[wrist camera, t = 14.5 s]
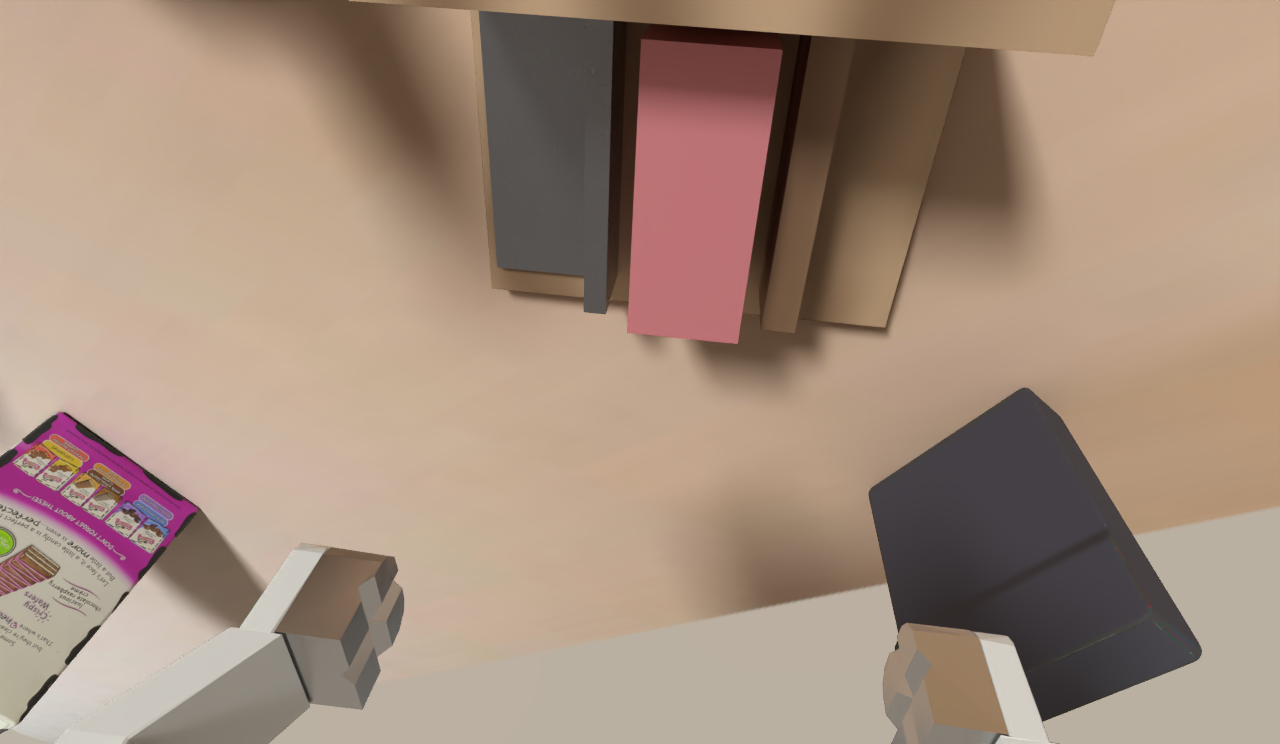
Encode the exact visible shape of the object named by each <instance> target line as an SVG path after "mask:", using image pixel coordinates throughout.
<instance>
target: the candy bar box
mask: <svg viewBox="0 0 1280 744" xmlns="http://www.w3.org/2000/svg"><path fill="white" fill-rule="evenodd" d="M197 512H198V508H197V507H196V506H195V505H193V504H192V503H190V502H189V501H188V500H186V499H185V498H183V497H182V496H181V495H179V494H178V493H176V492H175V491H174V490H172V489H171V488H169V487H168V486H167V485H165V484H164V483H162V482H161V481H159V480H158V479H157V478H155V477H154V476H152V475H151V474H149V473H148V472H146V471H145V470H144V469H142V468H141V467H139V466H138V465H137V464H135V463H134V462H132V461H131V460H129V459H128V458H127V457H125V456H124V455H122V454H121V453H119V452H118V451H117V450H115V449H114V448H112V447H111V446H110V445H108V444H107V443H105V442H104V441H102V440H101V439H99V438H98V437H96V436H95V435H94V434H92V433H91V432H89V431H88V430H86V429H85V428H84V427H82V426H81V425H79V424H78V423H76V422H75V421H74V420H72V419H71V418H69V417H68V416H67V415H65V414H63V413H61V412H57V413H55V414H54V415H53V416H51V417H50V418H49V419H48V420H46V421H45V422H44V423H42V424H41V425H40V426H38V427H37V428H36V429H35V430H33V431H32V432H31V433H30V434H28V435H27V436H26V437H25V438H23V439H22V440H21V441H20V442H18V443H17V444H16V445H14V446H13V447H12V448H11V449H9V450H8V451H7V452H6V453H5V454H3V455H2V456H1V457H0V734H1V733H2V732H5V731H7V730H8V729H10V728H12V727H14V726H16V725H17V724H19V723H20V722H21V721H22V720H23V719H24V717H25V716H26V715H27V714H28V713H29V711H30V710H31V709H32V708H33V706H34V705H35V704H36V703H37V702H38V701H39V700H40V699H41V697H42V696H43V695H44V694H45V693H46V692H47V690H48V689H49V688H50V687H51V685H52V684H53V683H54V682H55V681H56V679H57V678H58V677H59V676H60V674H61V673H62V672H63V671H64V670H65V668H66V667H67V666H68V665H69V664H70V662H71V661H72V660H73V659H74V658H75V657H76V655H77V654H78V653H79V652H80V651H81V649H82V648H83V647H84V646H85V645H86V643H87V642H88V641H89V640H90V639H91V638H92V637H93V635H94V634H95V633H96V632H97V630H98V629H99V628H100V627H101V625H102V624H103V623H104V622H105V621H106V620H107V618H108V617H109V616H110V615H111V614H112V613H113V612H114V610H115V609H116V608H117V607H118V606H119V604H120V603H121V602H122V601H123V600H124V599H125V597H126V596H127V595H128V594H129V593H130V591H131V590H132V589H133V588H134V586H135V585H136V584H137V583H138V582H139V581H140V579H141V578H142V577H143V576H144V575H145V574H146V572H147V571H148V570H149V569H150V568H151V567H152V565H153V564H154V563H155V562H156V561H157V560H158V558H159V557H160V556H161V555H162V554H163V552H164V551H165V550H166V549H167V548H168V546H169V545H170V544H171V543H172V542H173V540H174V539H175V538H176V537H177V536H178V535H179V534H180V533H181V532H182V530H183V529H184V528H185V527H186V526H187V525H188V523H189V522H190V521H191V520H192V518H193V517H194V516H195V515H196V513H197Z"/></svg>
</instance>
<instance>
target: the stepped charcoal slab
mask: <svg viewBox="0 0 1280 744" xmlns="http://www.w3.org/2000/svg"><path fill="white" fill-rule="evenodd" d="M869 500H870V504H871V509H872V514H873V518H874V523H875V528H876V532H877V537H878V541H879V546H880V551H881V555H882V560H883V564H884V569H885V574H886V578H887V583H888V587H889V592H890V597H891V601H892V606H893V610H894V615H895V619H896V624H897V629H898V633H899V631H900V629H901V626H903V625H904V624H906V623H913V624H921V625H930V626H938V627H947V628H956V629H964V630H970V631H971V632H981V633H989V634H998V635H1004V636H1008V637H1009V638H1010V639H1011V641H1012V642H1013V643H1014V646H1015V648H1016V651H1017V654H1018V657H1019V659H1020V662H1021V665H1022V667H1023V670H1024V673H1025V676H1026V678H1027V681H1028V684H1029V687H1030V689H1031V692H1032V695H1033V698H1034V700H1035V703H1036V706H1037V708H1038V711H1039V714H1040V717H1041V719H1042V722H1043V721H1045V720H1048V719H1050V718H1053V717H1056V716H1058V715H1061V714H1063V713H1066V712H1068V711H1071V710H1073V709H1076V708H1079V707H1081V706H1084V705H1086V704H1089V703H1091V702H1094V701H1096V700H1099V699H1101V698H1104V697H1106V696H1109V695H1112V694H1114V693H1117V692H1119V691H1122V690H1124V689H1127V688H1129V687H1132V686H1134V685H1137V684H1139V683H1142V682H1145V681H1147V680H1150V679H1152V678H1155V677H1157V676H1160V675H1162V674H1165V673H1167V672H1170V671H1173V670H1175V669H1178V668H1180V667H1183V666H1185V665H1187V664H1190V663H1193V662H1195V661H1197V660H1198V659H1199V658H1200V656H1201V653H1202V650H1201V647H1200V645H1199V643H1198V641H1197V639H1196V638H1195V636H1194V635H1193V633H1192V631H1191V629H1190V628H1189V626H1188V625H1187V623H1186V621H1185V620H1184V618H1183V616H1182V615H1181V613H1180V611H1179V610H1178V608H1177V607H1176V605H1175V603H1174V602H1173V600H1172V598H1171V597H1170V595H1169V593H1168V592H1167V590H1166V589H1165V587H1164V585H1163V584H1162V582H1161V580H1160V579H1159V577H1158V576H1157V574H1156V572H1155V571H1154V569H1153V567H1152V566H1151V564H1150V562H1149V561H1148V559H1147V558H1146V556H1145V554H1144V553H1143V551H1142V549H1141V548H1140V546H1139V545H1138V543H1137V541H1136V540H1135V538H1134V536H1133V535H1132V533H1131V531H1130V530H1129V528H1128V526H1127V525H1126V523H1125V522H1124V520H1123V518H1122V517H1121V515H1120V513H1119V512H1118V510H1117V508H1116V507H1115V505H1114V504H1113V502H1112V500H1111V499H1110V497H1109V495H1108V494H1107V492H1106V491H1105V489H1104V487H1103V486H1102V484H1101V482H1100V481H1099V479H1098V477H1097V476H1096V474H1095V473H1094V471H1093V469H1092V468H1091V466H1090V464H1089V463H1088V461H1087V459H1086V458H1085V456H1084V455H1083V453H1082V451H1081V450H1080V448H1079V446H1078V445H1077V443H1076V441H1075V440H1074V438H1073V437H1072V435H1071V433H1070V432H1069V430H1068V428H1067V427H1066V425H1065V423H1064V422H1063V420H1062V419H1061V417H1060V416H1059V415H1058V414H1057V413H1055V412H1054V411H1053V410H1052V409H1051V408H1050V407H1049V406H1048V405H1047V404H1045V403H1044V402H1043V401H1042V400H1041V399H1040V398H1039V397H1038V396H1037V395H1035V394H1034V393H1033V392H1032V391H1031V390H1030V389H1028V388H1022V389H1020V390H1018V391H1016V392H1015V393H1013V394H1012V395H1010V396H1009V397H1007V398H1006V399H1004V400H1003V401H1001V402H1000V403H998V404H997V405H995V406H994V407H992V408H991V409H989V410H988V411H986V412H985V413H983V414H982V415H980V416H979V417H977V418H976V419H974V420H973V421H971V422H970V423H968V424H967V425H965V426H964V427H962V428H961V429H959V430H958V431H956V432H955V433H953V434H952V435H950V436H949V437H947V438H946V439H944V440H943V441H941V442H940V443H938V444H937V445H935V446H934V447H932V448H931V449H929V450H928V451H926V452H925V453H923V454H922V455H920V456H919V457H917V458H916V459H914V460H913V461H911V462H910V463H908V464H907V465H905V466H904V467H902V468H901V469H899V470H898V471H896V472H895V473H893V474H892V475H890V476H889V477H887V478H886V479H884V480H883V481H881V482H880V483H878V484H877V485H875V486H874V487H872V488H871V489H870V491H869ZM897 649H899V644H898V641H897V644H896V646H895V651H896V650H897Z"/></svg>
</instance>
